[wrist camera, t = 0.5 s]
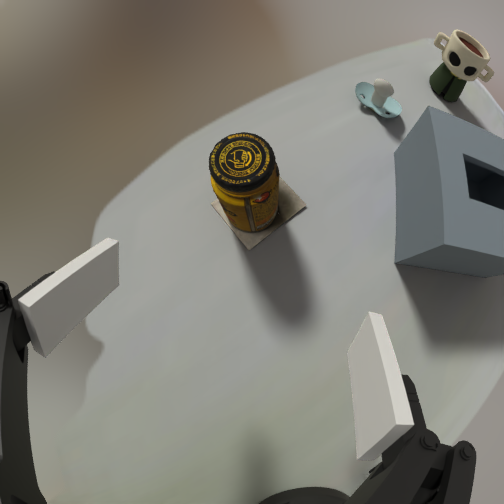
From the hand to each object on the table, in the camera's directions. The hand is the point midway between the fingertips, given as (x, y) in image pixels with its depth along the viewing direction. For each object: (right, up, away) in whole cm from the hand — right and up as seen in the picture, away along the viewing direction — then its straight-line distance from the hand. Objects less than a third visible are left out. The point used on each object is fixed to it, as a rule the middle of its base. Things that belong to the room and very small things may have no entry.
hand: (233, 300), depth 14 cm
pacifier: (+20, +24, +21) cm, 38 cm away
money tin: (+27, +7, +17) cm, 33 cm away
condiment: (+2, +8, +19) cm, 21 cm away
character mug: (+35, +31, +22) cm, 51 cm away
